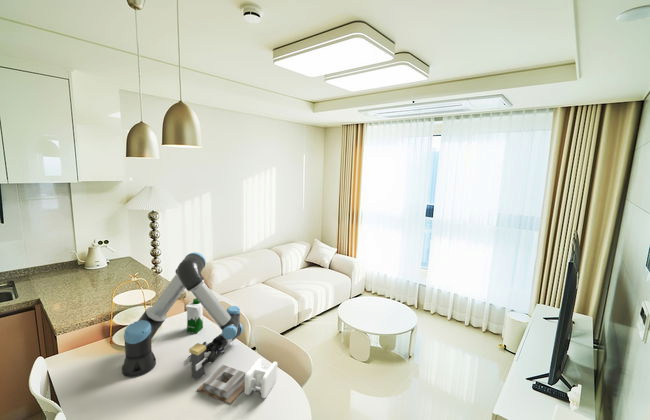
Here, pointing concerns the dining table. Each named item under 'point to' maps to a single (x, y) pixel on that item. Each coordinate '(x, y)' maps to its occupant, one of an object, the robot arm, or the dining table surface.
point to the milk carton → (194, 316)
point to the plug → (197, 360)
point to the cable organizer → (260, 378)
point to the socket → (224, 384)
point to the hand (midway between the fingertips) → (190, 365)
